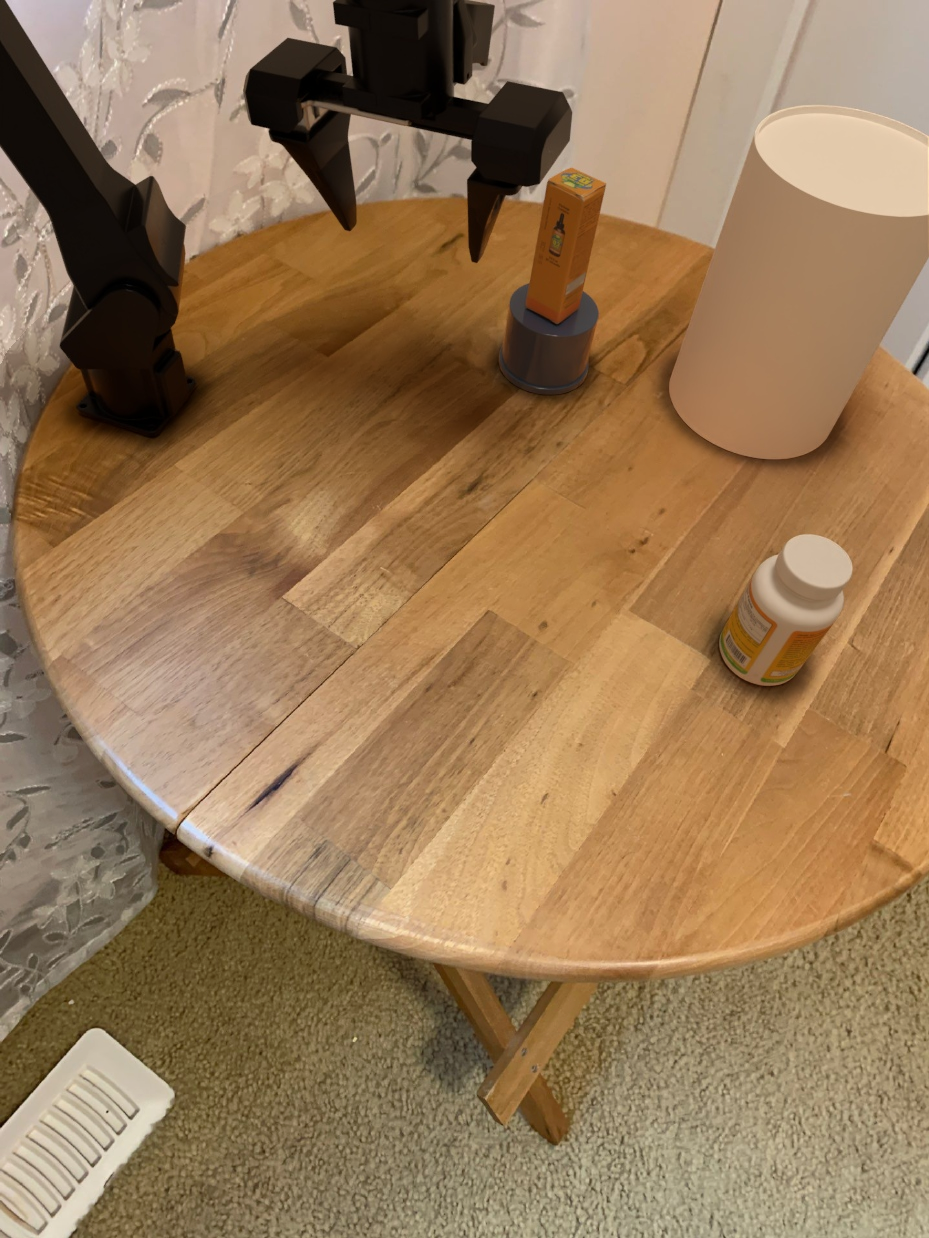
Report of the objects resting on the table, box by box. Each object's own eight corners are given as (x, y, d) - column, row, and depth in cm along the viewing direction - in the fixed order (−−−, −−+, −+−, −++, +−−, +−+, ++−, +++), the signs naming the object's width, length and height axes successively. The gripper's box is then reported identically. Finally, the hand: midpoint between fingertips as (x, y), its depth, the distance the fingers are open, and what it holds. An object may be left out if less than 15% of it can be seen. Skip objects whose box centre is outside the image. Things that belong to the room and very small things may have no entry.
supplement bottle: (806, 639, 59) (873, 545, 51) (788, 701, 56) (857, 612, 48) (728, 607, 60) (783, 511, 52) (707, 667, 57) (761, 574, 49)
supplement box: (582, 308, 69) (611, 182, 61) (556, 327, 67) (582, 200, 59) (548, 289, 70) (572, 163, 62) (522, 307, 68) (542, 180, 60)
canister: (669, 336, 77) (749, 92, 61) (824, 361, 77) (946, 123, 60) (668, 443, 69) (760, 196, 53) (841, 471, 69) (986, 232, 53)
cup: (574, 405, 71) (588, 348, 66) (486, 379, 72) (494, 321, 67) (599, 343, 76) (614, 286, 71) (517, 320, 76) (526, 262, 72)
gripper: (618, -63, 48) (586, 211, 61) (313, -110, 52) (344, 155, 65) (546, 21, 42) (528, 304, 55) (210, -40, 46) (266, 236, 59)
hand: (413, 243), depth 59 cm, fingers open, 9 cm apart
